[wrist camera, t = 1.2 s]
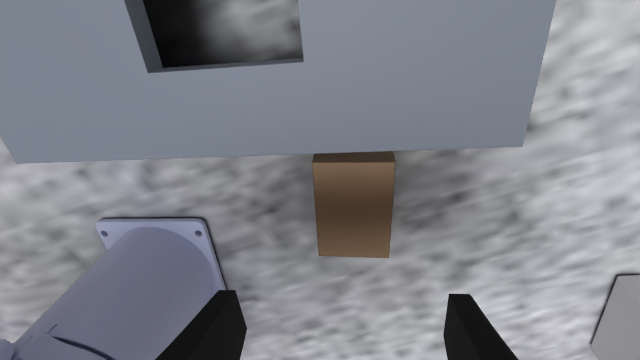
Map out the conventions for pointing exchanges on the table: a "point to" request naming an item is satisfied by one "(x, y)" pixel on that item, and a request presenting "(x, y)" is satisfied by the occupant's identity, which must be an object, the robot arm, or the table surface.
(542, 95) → the table surface
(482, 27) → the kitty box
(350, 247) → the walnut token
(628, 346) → the milk carton
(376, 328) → the table surface
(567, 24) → the table surface
